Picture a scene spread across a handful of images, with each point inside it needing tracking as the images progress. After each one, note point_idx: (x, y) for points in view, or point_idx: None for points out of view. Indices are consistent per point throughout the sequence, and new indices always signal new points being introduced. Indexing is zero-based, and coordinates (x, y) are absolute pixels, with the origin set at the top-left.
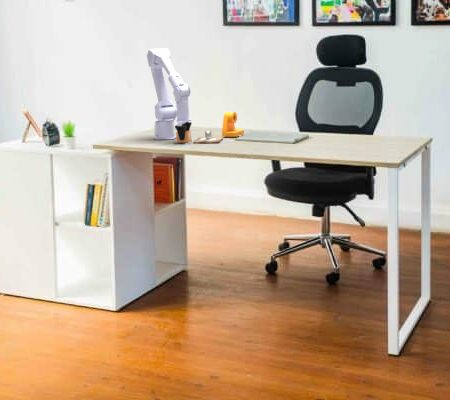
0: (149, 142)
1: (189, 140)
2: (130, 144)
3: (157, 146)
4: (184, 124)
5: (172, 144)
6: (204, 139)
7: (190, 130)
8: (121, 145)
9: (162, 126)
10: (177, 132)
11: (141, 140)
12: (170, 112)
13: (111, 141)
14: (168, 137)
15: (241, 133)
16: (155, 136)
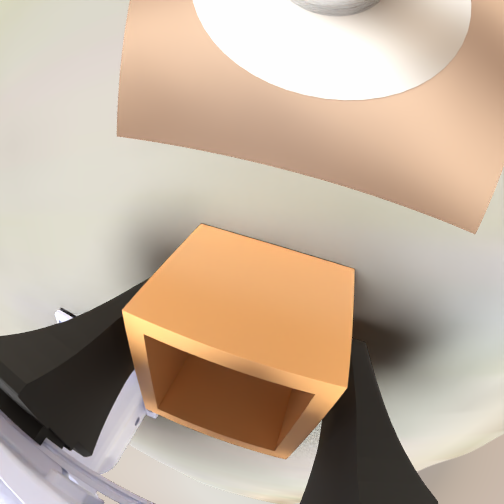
0: (241, 447)
1: (301, 265)
2: (281, 482)
3: (410, 446)
4: (75, 429)
5: (385, 394)
6: (361, 31)
7: (125, 317)
8: (296, 492)
9: (106, 455)
10: (289, 454)
11: (177, 442)
12: (15, 497)
13: (199, 478)
14: (135, 380)
15: None
16: (141, 421)
